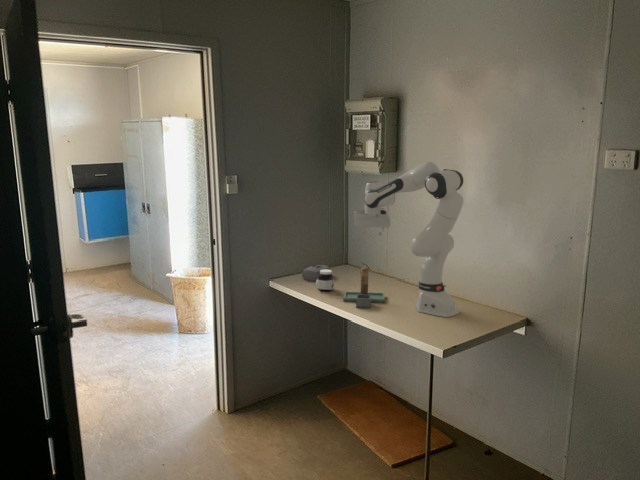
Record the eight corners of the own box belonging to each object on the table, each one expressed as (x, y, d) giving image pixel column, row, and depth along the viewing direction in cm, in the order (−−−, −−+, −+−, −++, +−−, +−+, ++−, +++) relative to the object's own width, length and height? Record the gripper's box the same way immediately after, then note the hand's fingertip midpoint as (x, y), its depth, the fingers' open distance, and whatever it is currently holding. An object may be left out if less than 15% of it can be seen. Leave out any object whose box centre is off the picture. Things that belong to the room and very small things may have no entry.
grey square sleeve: (370, 303, 270) (371, 294, 269) (370, 308, 263) (370, 299, 262) (356, 303, 271) (356, 294, 270) (356, 307, 264) (356, 298, 263)
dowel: (369, 297, 278) (370, 268, 276) (364, 298, 276) (365, 269, 273) (363, 295, 281) (364, 267, 278) (358, 297, 279) (359, 268, 276)
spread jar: (327, 293, 289) (327, 273, 287) (310, 290, 294) (310, 271, 292) (337, 288, 299) (337, 269, 297) (320, 285, 304) (320, 266, 302)
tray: (384, 296, 283) (384, 292, 283) (384, 302, 272) (384, 299, 271) (344, 294, 286) (344, 291, 285) (343, 301, 274) (343, 297, 274)
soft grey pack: (318, 283, 310) (336, 276, 326) (318, 269, 309) (336, 263, 325) (298, 279, 319) (317, 272, 335) (298, 266, 317) (317, 260, 333)
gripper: (353, 211, 281) (353, 235, 284) (390, 211, 279) (390, 236, 282) (354, 209, 287) (353, 233, 290) (390, 210, 285) (389, 234, 288)
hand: (371, 235), depth 286 cm, fingers open, 8 cm apart
